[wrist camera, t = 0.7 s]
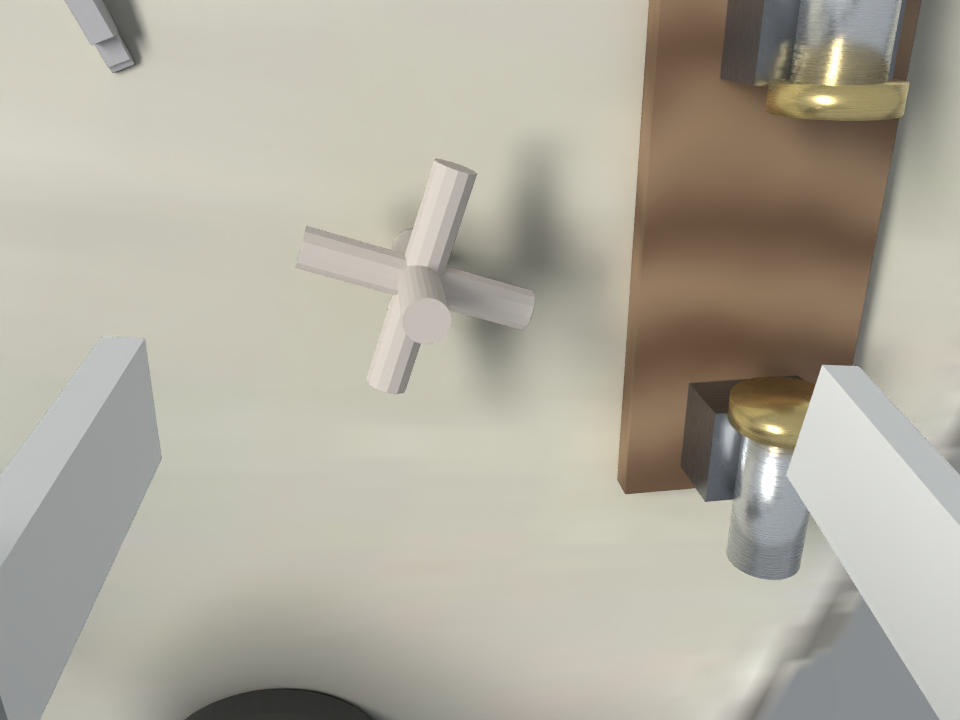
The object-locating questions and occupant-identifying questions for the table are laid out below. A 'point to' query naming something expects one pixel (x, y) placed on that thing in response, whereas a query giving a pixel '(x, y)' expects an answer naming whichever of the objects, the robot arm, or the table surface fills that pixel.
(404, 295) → the pipe connector
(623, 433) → the board
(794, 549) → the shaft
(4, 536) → the robot arm
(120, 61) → the caliper
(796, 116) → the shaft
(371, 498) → the table surface
